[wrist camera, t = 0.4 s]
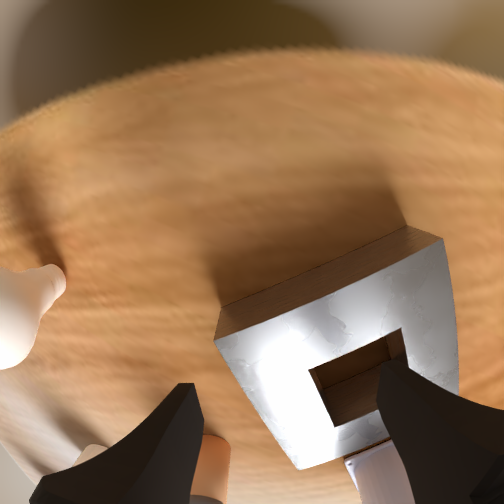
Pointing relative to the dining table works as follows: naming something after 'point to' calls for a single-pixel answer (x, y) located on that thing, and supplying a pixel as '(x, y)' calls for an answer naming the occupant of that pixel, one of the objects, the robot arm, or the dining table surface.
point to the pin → (211, 472)
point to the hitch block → (342, 341)
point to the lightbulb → (25, 308)
